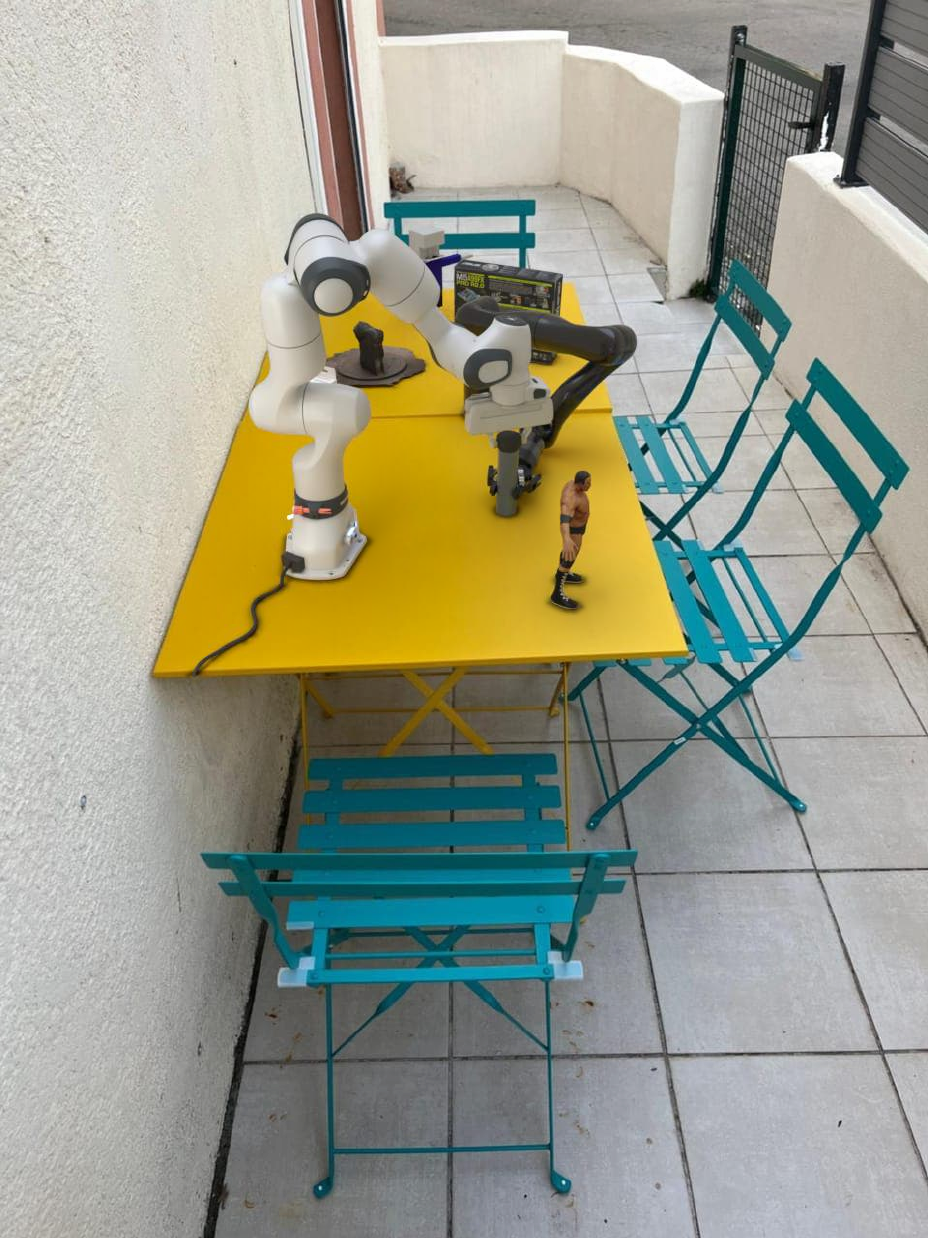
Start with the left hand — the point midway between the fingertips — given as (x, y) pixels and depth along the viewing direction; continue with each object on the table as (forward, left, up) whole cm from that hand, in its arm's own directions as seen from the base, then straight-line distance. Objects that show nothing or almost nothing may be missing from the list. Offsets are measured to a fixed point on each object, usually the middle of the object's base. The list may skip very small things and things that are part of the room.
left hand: (508, 445), depth 204 cm
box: (+92, +5, -18) cm, 94 cm away
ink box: (+44, +55, -18) cm, 73 cm away
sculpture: (+78, +47, -18) cm, 93 cm away
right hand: (-2, +1, -12) cm, 12 cm away
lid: (0, 0, +2) cm, 2 cm away
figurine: (-31, -15, -18) cm, 39 cm away
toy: (+118, +33, -18) cm, 123 cm away
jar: (0, 0, -18) cm, 18 cm away
